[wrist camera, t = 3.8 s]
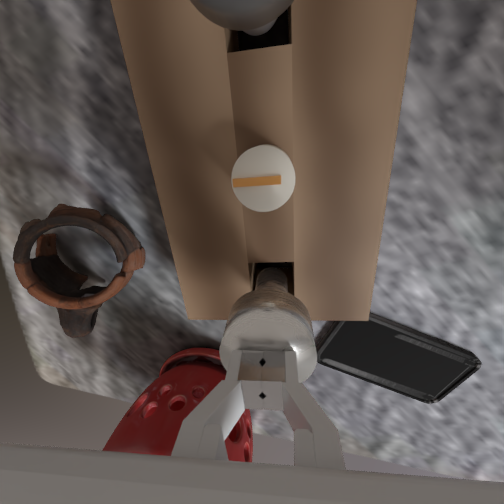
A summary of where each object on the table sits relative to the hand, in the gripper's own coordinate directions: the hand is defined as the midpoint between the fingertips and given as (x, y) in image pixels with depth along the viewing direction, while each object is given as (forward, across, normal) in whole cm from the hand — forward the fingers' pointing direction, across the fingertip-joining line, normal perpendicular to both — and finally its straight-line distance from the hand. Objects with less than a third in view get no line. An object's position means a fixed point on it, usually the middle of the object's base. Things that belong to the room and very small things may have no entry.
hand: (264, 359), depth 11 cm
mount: (+12, 0, -8) cm, 14 cm away
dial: (+7, 0, -8) cm, 10 cm away
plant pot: (+12, +9, +16) cm, 22 cm away
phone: (+12, -12, +12) cm, 21 cm away
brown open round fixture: (+12, +17, 0) cm, 21 cm away
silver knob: (+7, 0, 0) cm, 7 cm away
